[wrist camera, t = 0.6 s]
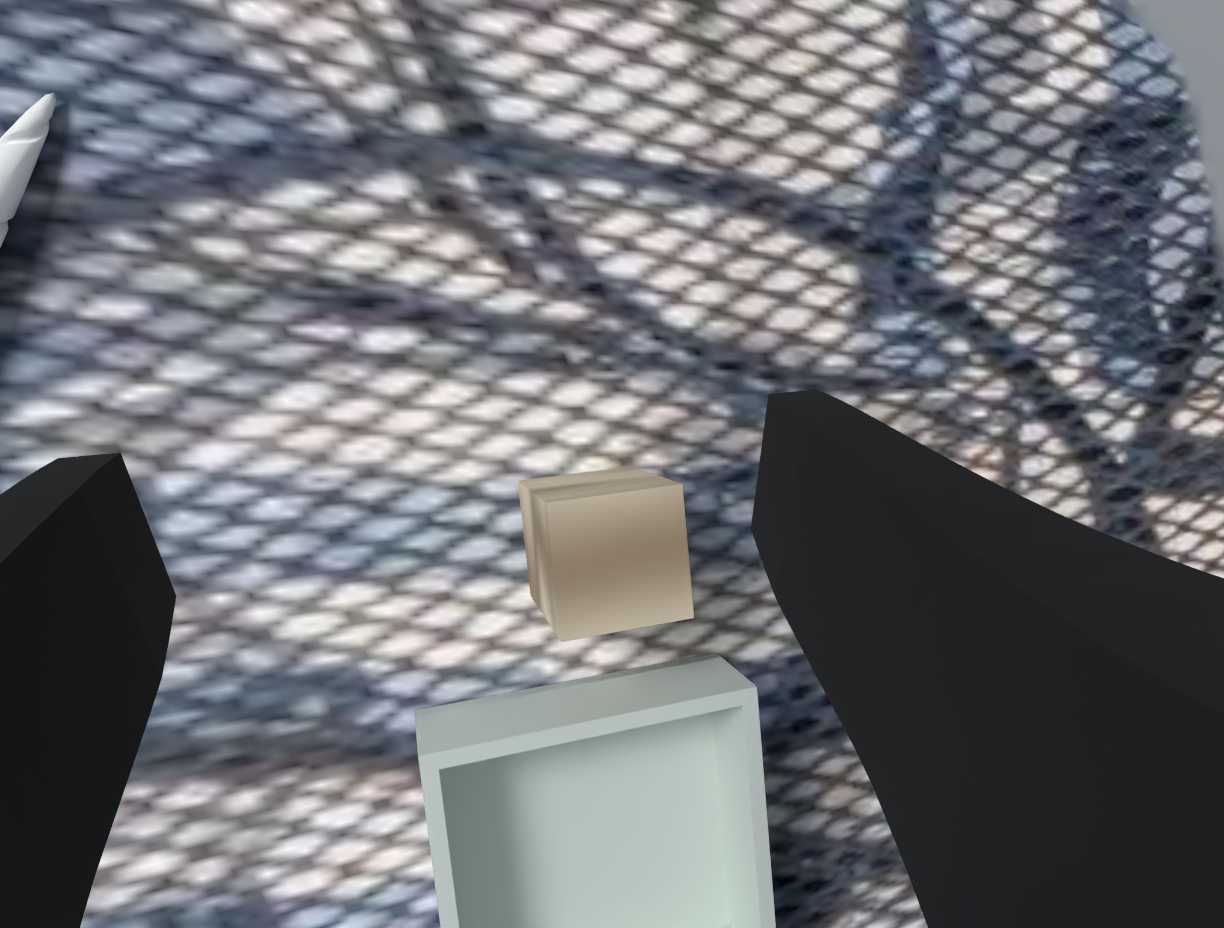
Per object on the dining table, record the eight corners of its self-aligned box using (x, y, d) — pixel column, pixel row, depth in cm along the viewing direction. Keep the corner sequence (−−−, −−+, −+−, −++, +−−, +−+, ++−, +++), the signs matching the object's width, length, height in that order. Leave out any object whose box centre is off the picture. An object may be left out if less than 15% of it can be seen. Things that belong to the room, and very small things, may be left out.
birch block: (641, 577, 33) (694, 618, 28) (530, 595, 32) (561, 641, 27) (630, 466, 33) (682, 484, 27) (517, 480, 32) (546, 502, 26)
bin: (738, 924, 36) (780, 989, 32) (453, 1004, 33) (461, 1086, 29) (715, 652, 34) (756, 686, 31) (414, 710, 31) (418, 756, 28)
